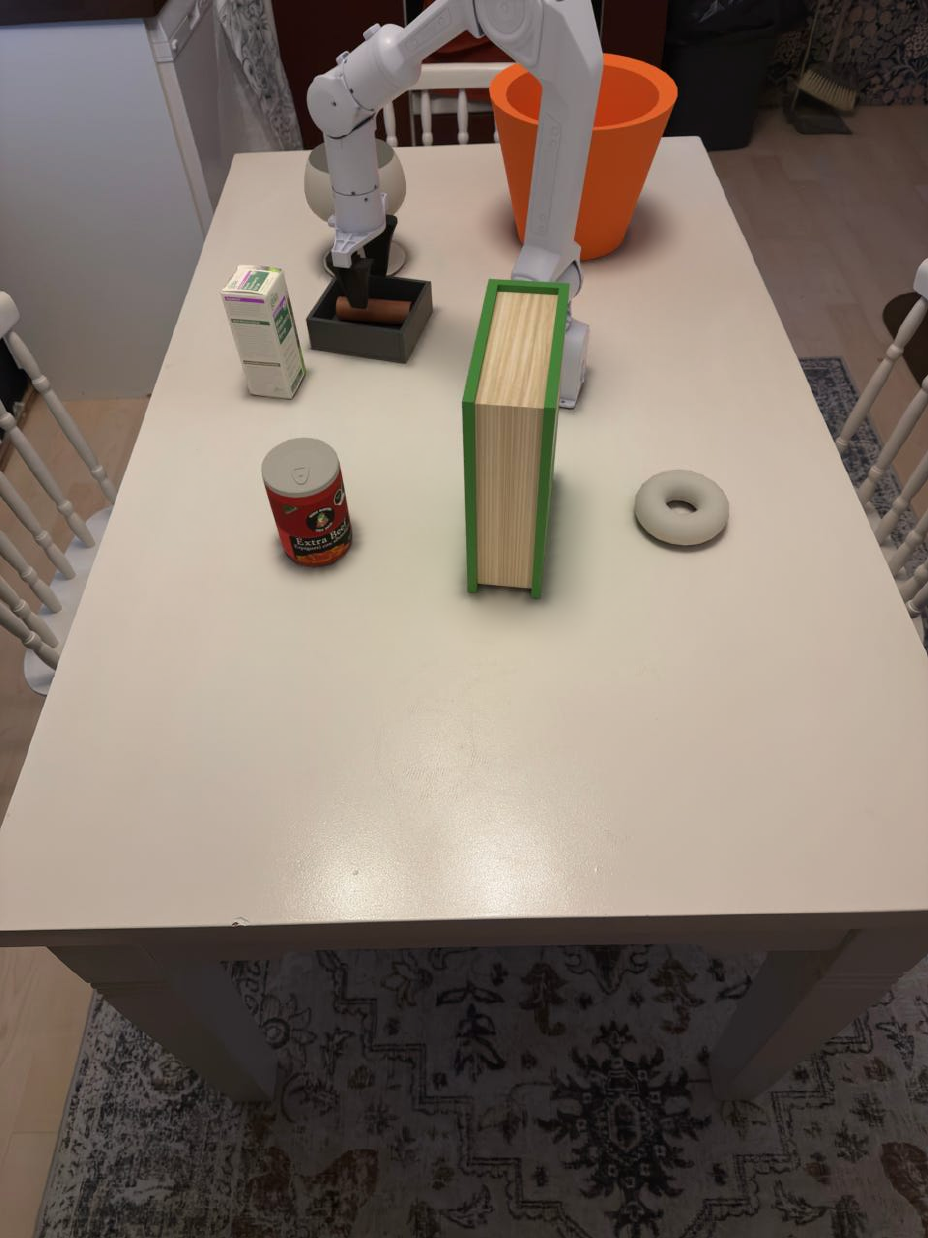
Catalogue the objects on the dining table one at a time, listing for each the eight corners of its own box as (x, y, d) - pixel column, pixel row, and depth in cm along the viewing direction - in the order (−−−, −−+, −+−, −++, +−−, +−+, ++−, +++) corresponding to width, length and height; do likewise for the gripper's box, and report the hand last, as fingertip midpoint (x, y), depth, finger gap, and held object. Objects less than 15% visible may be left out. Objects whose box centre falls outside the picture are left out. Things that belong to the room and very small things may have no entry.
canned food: (297, 578, 87) (276, 502, 78) (271, 529, 91) (248, 452, 82) (365, 552, 89) (352, 475, 80) (336, 504, 93) (321, 427, 84)
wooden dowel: (409, 328, 111) (413, 321, 114) (408, 304, 109) (413, 299, 112) (336, 322, 112) (342, 316, 115) (335, 299, 111) (341, 293, 113)
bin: (433, 311, 115) (431, 280, 112) (405, 363, 108) (403, 333, 105) (343, 298, 118) (339, 268, 114) (311, 349, 111) (305, 318, 107)
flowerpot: (587, 177, 137) (600, 38, 121) (688, 244, 124) (717, 98, 108) (458, 221, 130) (454, 78, 114) (551, 296, 117) (561, 148, 101)
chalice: (430, 252, 125) (424, 146, 113) (375, 297, 118) (362, 189, 106) (355, 227, 129) (341, 123, 117) (298, 270, 122) (277, 164, 110)
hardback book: (540, 598, 84) (555, 408, 65) (467, 591, 85) (461, 401, 66) (553, 477, 95) (569, 283, 76) (488, 472, 96) (488, 278, 76)
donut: (717, 562, 87) (732, 495, 92) (725, 540, 84) (739, 473, 90) (623, 540, 89) (642, 476, 95) (627, 518, 86) (647, 454, 92)
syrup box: (292, 400, 104) (268, 294, 93) (248, 395, 105) (218, 289, 93) (307, 372, 108) (285, 266, 96) (263, 367, 108) (237, 262, 97)
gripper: (345, 152, 102) (359, 257, 113) (300, 210, 94) (319, 317, 105) (399, 158, 101) (408, 263, 112) (358, 217, 93) (372, 325, 104)
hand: (369, 290), depth 108 cm, fingers open, 7 cm apart
